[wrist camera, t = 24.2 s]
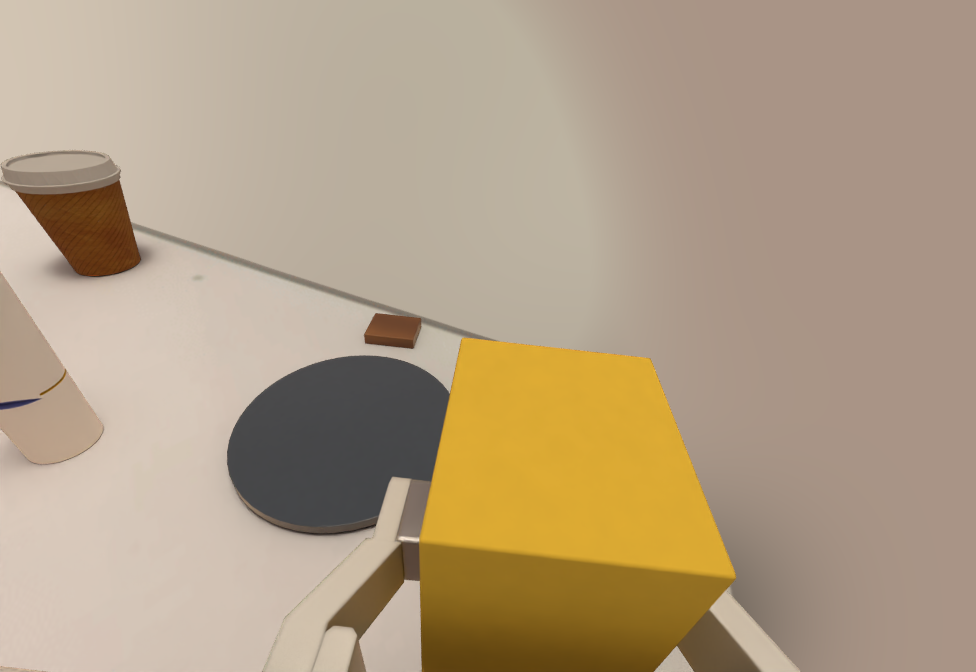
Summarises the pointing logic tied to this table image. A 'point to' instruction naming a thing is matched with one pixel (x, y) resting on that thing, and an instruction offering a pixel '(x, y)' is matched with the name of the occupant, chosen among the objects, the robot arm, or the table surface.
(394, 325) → the brown rectangular block
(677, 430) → the sponge
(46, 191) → the disposable coffee cup
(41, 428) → the tube
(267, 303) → the table surface
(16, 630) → the table surface
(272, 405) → the plate
